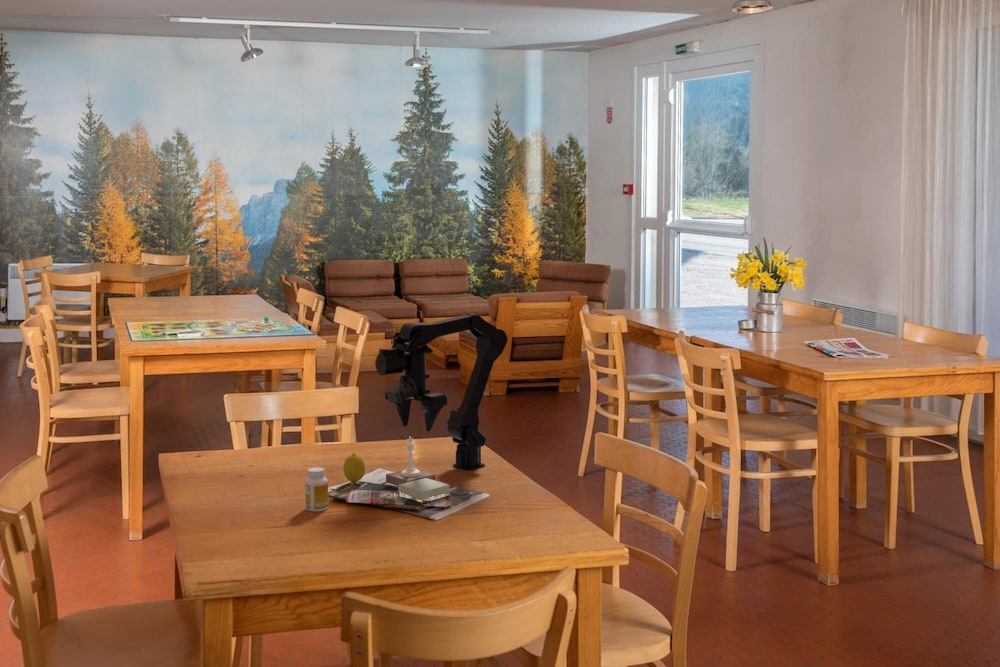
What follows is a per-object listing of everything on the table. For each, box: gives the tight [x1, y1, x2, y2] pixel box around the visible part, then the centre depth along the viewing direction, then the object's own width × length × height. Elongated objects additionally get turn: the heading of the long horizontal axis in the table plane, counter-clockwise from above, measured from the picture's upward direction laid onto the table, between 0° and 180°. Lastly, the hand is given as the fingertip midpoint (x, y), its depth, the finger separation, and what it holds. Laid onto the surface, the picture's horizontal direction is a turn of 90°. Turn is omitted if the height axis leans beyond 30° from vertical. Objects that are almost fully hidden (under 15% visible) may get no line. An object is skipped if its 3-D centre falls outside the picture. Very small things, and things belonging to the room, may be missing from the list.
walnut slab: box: [385, 468, 436, 486], centre depth 285 cm, size 9×9×3 cm
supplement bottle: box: [304, 467, 329, 513], centre depth 264 cm, size 5×5×10 cm
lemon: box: [342, 453, 366, 483], centre depth 287 cm, size 6×6×8 cm
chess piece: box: [401, 435, 420, 477], centre depth 284 cm, size 5×5×10 cm
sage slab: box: [397, 478, 451, 500], centre depth 275 cm, size 9×9×3 cm
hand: (416, 428), depth 293 cm, fingers open, 9 cm apart
